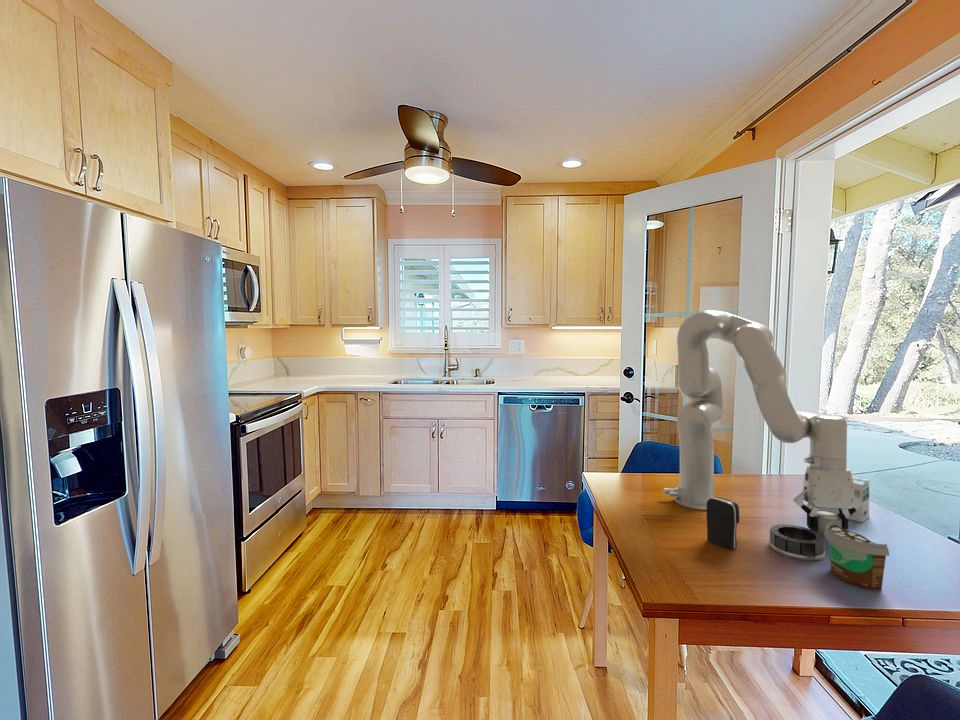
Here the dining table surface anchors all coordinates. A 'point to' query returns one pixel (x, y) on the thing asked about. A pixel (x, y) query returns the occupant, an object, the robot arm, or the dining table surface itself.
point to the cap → (826, 521)
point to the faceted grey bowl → (797, 542)
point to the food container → (855, 558)
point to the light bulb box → (862, 495)
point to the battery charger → (722, 521)
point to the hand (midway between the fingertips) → (826, 530)
